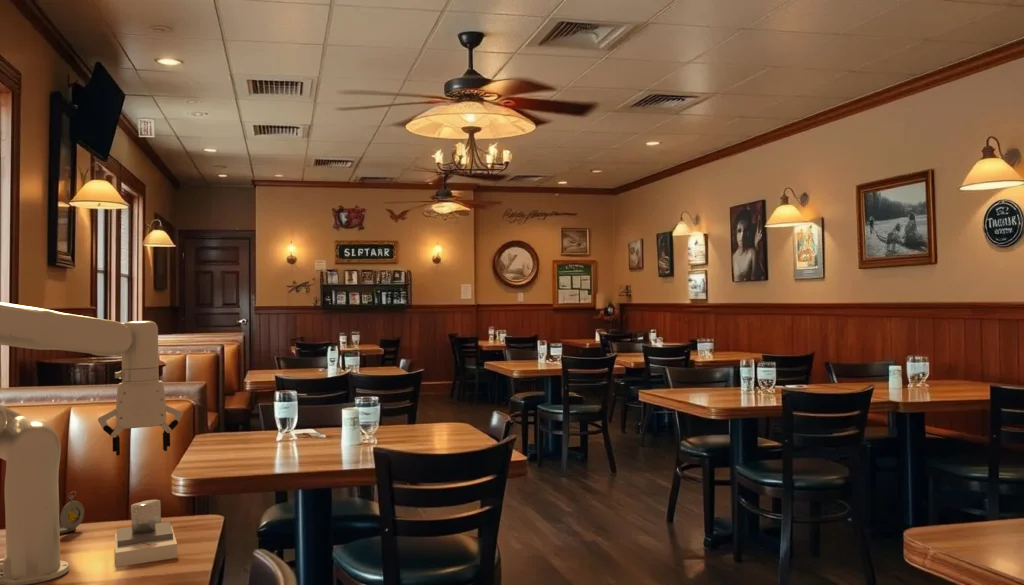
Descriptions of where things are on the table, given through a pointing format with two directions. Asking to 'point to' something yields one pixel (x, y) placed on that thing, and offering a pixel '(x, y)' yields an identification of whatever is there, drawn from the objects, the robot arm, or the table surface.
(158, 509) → the cylinder
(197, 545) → the table surface
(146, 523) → the cylinder
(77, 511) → the pocket watch
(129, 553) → the scale
